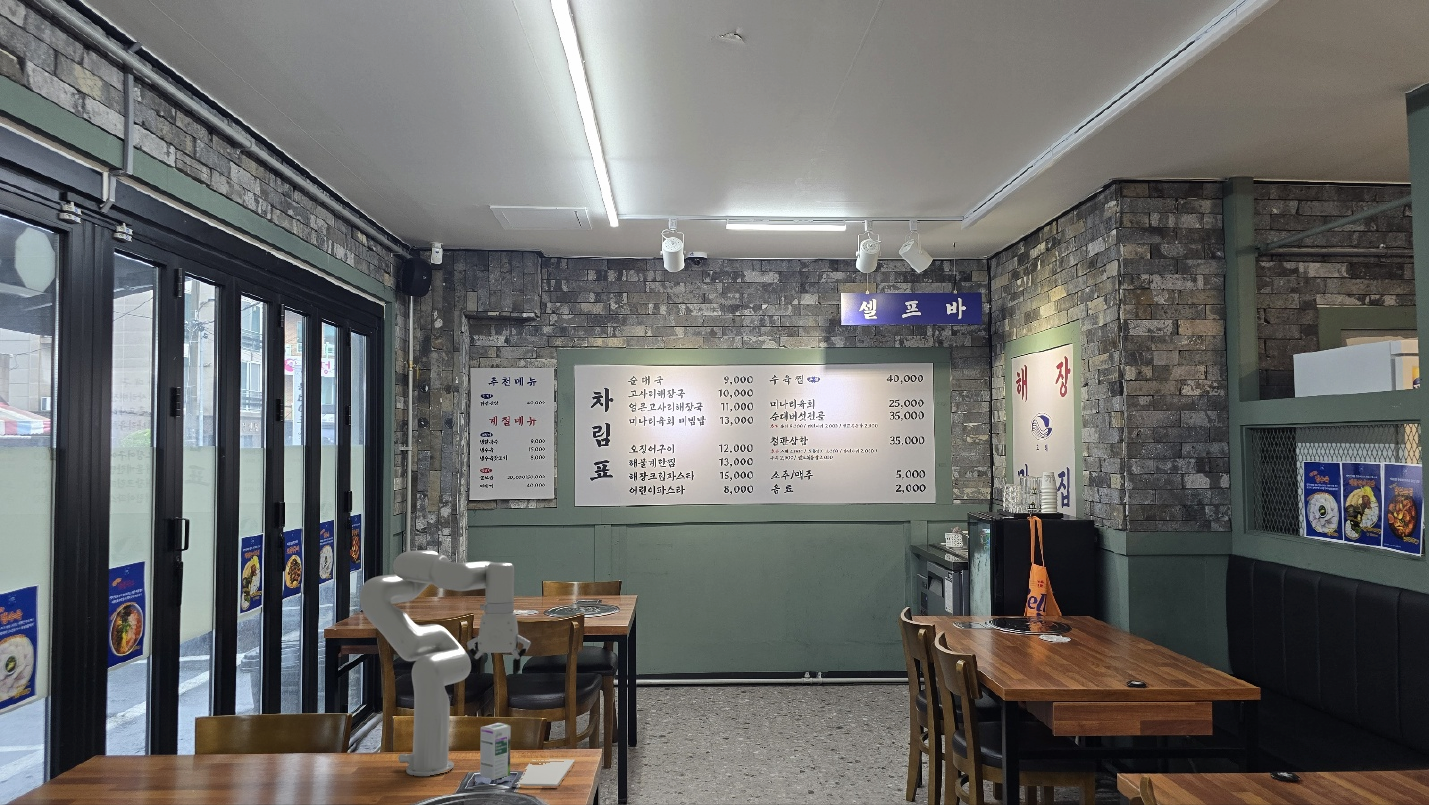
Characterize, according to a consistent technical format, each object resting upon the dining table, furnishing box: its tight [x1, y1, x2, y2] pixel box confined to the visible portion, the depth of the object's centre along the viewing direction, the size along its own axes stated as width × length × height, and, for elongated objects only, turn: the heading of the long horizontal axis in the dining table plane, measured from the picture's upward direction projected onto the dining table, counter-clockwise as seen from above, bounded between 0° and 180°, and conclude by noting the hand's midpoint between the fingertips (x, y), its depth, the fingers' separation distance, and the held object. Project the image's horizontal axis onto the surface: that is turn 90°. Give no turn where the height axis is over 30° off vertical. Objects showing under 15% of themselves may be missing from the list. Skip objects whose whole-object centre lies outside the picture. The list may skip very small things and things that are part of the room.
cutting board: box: [515, 758, 576, 786], centre depth 241 cm, size 12×22×1 cm, turn 177°
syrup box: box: [479, 722, 512, 780], centre depth 236 cm, size 6×6×14 cm
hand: (498, 673), depth 238 cm, fingers open, 9 cm apart
